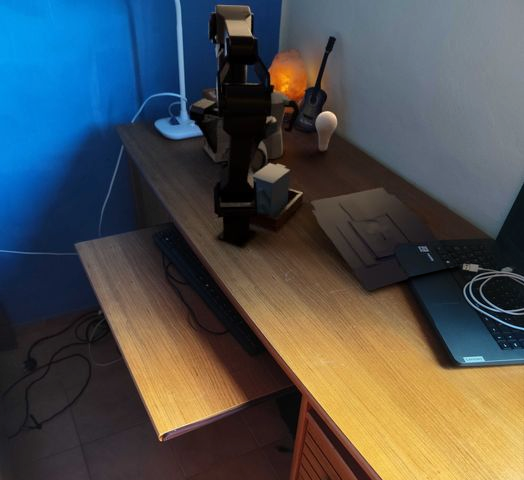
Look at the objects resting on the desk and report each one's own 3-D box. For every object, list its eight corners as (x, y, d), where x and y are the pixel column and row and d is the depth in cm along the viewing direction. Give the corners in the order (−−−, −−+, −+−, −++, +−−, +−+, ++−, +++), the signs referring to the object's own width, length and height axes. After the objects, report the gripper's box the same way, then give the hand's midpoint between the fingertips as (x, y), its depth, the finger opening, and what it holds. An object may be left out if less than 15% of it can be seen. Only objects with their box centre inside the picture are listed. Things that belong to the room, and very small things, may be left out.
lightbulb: (310, 153, 136) (314, 114, 128) (314, 145, 140) (319, 106, 132) (330, 157, 135) (336, 117, 127) (334, 148, 139) (340, 110, 131)
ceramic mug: (265, 161, 131) (266, 133, 126) (266, 175, 126) (268, 147, 120) (228, 161, 131) (227, 133, 125) (227, 175, 125) (227, 146, 120)
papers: (385, 195, 119) (389, 183, 116) (456, 275, 103) (463, 263, 100) (300, 212, 111) (303, 199, 108) (363, 300, 96) (368, 288, 93)
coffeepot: (240, 152, 135) (240, 84, 121) (256, 141, 140) (258, 74, 127) (286, 166, 130) (293, 97, 117) (301, 154, 136) (309, 87, 122)
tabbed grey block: (288, 207, 114) (292, 168, 107) (265, 227, 108) (267, 187, 100) (269, 200, 116) (271, 161, 109) (245, 219, 110) (246, 179, 102)
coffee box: (203, 149, 135) (200, 88, 123) (224, 146, 137) (223, 86, 125) (214, 163, 129) (212, 101, 118) (236, 159, 131) (236, 98, 120)
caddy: (275, 231, 108) (276, 219, 106) (241, 219, 110) (241, 208, 108) (302, 203, 117) (303, 192, 115) (269, 193, 119) (270, 182, 117)
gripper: (291, 80, 95) (285, 155, 107) (214, 62, 101) (216, 135, 112) (266, 96, 89) (262, 174, 100) (185, 76, 94) (190, 152, 105)
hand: (232, 158), depth 105 cm, fingers open, 9 cm apart
